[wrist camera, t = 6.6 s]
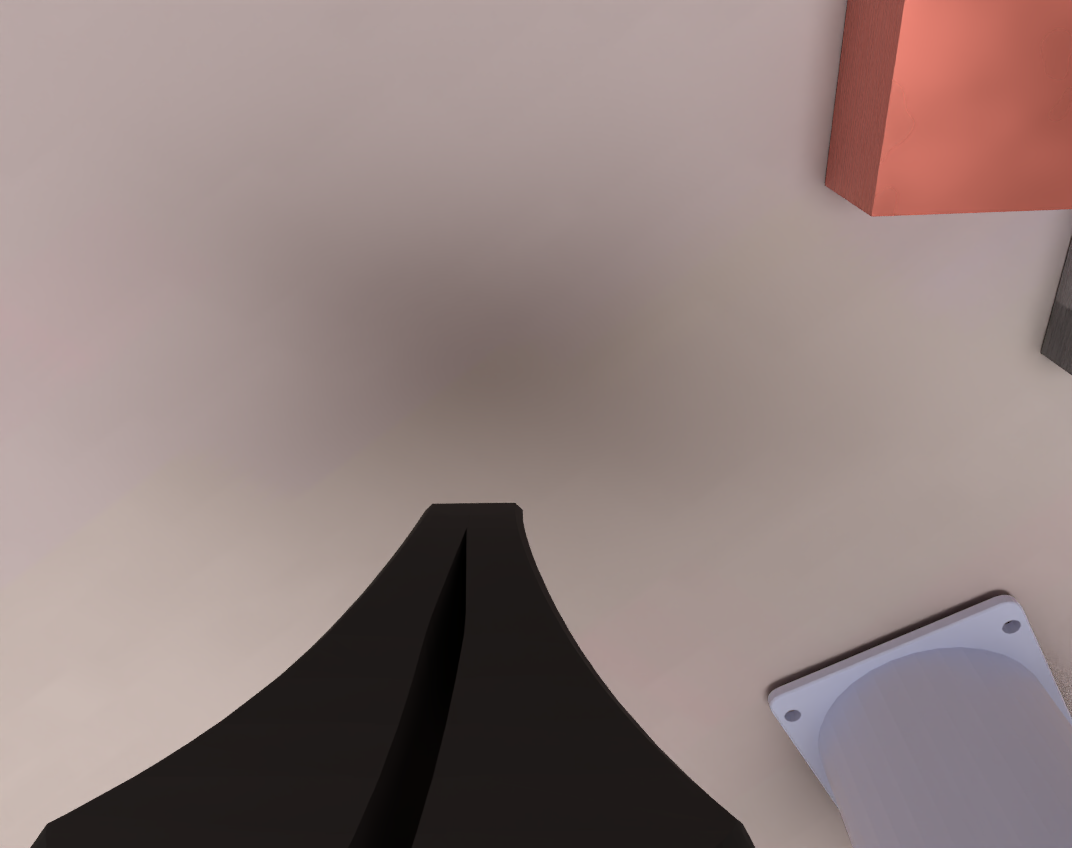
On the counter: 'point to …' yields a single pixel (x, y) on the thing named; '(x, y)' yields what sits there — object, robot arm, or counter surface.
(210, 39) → the counter surface
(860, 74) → the clamp
